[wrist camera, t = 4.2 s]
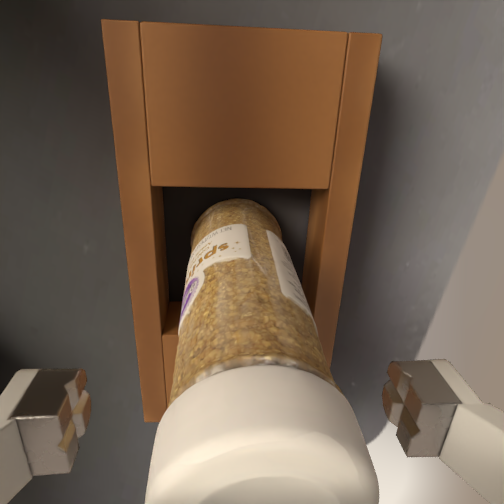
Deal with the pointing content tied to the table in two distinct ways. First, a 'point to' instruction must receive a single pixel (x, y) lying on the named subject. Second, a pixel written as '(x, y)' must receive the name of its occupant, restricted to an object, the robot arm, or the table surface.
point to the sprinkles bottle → (253, 381)
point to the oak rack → (234, 151)
